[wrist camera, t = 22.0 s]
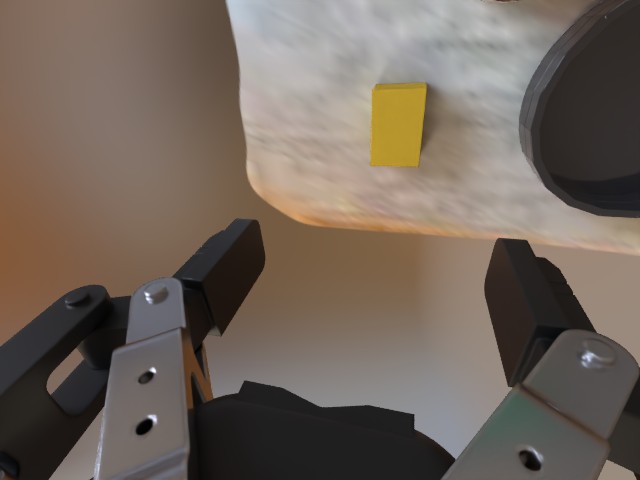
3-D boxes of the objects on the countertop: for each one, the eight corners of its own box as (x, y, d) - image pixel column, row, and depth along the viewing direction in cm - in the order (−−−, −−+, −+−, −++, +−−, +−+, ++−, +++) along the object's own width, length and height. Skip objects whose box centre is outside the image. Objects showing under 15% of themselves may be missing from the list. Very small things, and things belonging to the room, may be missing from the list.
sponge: (376, 84, 27) (372, 89, 24) (426, 82, 26) (427, 87, 24) (374, 155, 30) (370, 165, 28) (418, 155, 29) (418, 167, 27)
